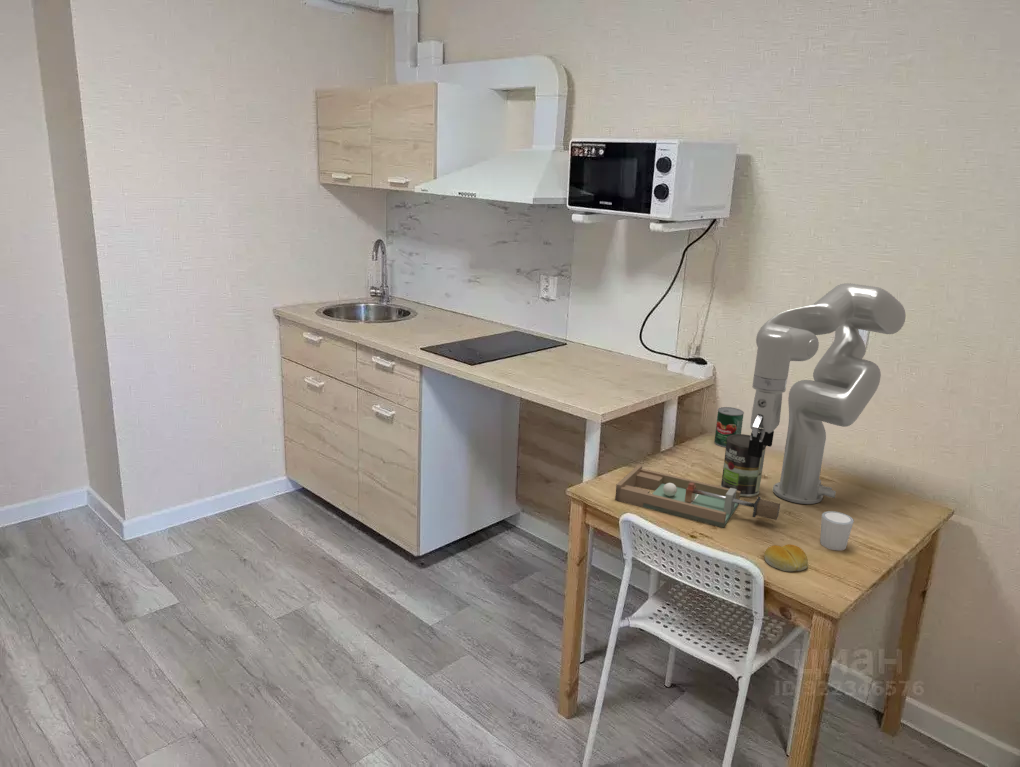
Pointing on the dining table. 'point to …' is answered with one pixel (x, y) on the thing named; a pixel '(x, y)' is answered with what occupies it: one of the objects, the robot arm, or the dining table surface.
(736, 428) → the canned tomato
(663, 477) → the pitch
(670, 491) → the ball
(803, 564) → the bread roll
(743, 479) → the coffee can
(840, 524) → the white cup
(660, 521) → the dining table surface
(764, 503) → the kicker rod
